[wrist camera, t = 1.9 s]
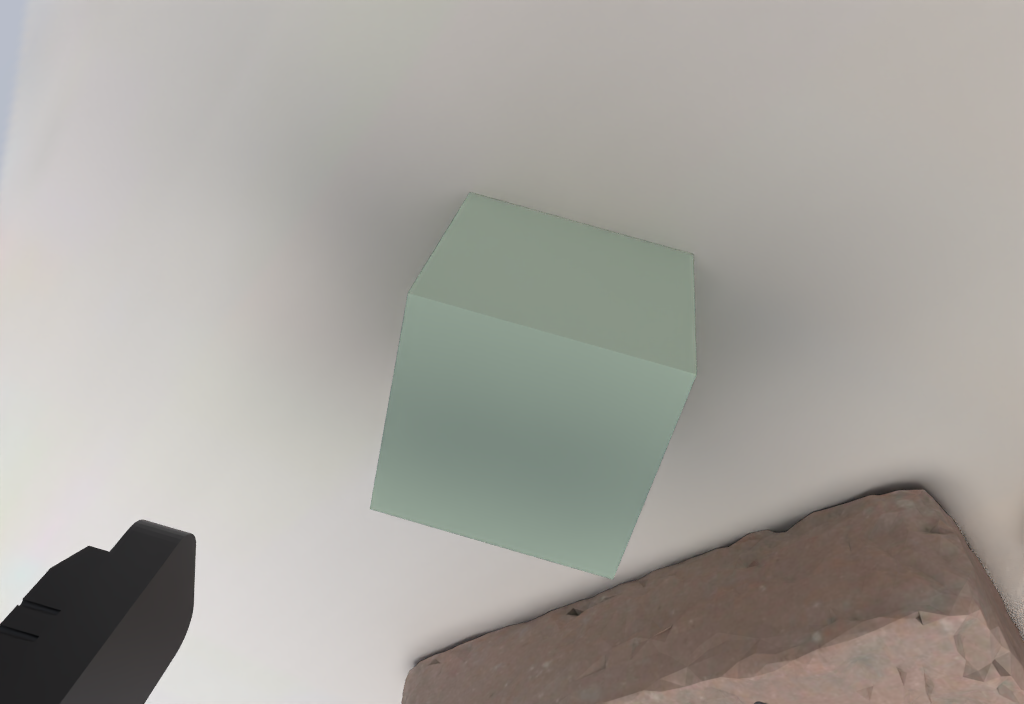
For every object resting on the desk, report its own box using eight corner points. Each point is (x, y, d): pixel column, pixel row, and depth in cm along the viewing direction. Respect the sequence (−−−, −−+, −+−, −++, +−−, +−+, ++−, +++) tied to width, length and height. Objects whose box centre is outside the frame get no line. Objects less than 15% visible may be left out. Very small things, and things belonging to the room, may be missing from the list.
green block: (470, 190, 19) (407, 292, 14) (693, 253, 18) (696, 374, 14) (432, 376, 21) (369, 509, 17) (626, 431, 21) (612, 579, 17)
